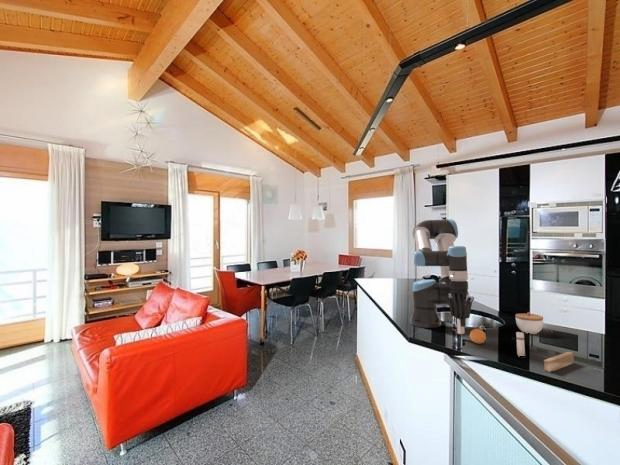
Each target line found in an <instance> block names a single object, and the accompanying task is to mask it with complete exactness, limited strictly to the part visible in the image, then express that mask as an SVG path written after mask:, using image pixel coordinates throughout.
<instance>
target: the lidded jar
mask: <svg viewBox="0 0 620 465" xmlns="http://www.w3.org/2000/svg"><path fill="white" fill-rule="evenodd" d="M514 316H515V323H516V326H517V327H518V329H519V330H520V331H521V332H522V333H524V332H525V333H524V334H528V333H530V334H529V335H538V334H539V332H541V330H543V327H544V326H543V325H544V316H542V315H539V314H535V313H534V314H533V313H531V312H530V311H527V313H525V312H524V313H522V312H521V313H516V314H514ZM537 333H538V334H537Z"/></svg>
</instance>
